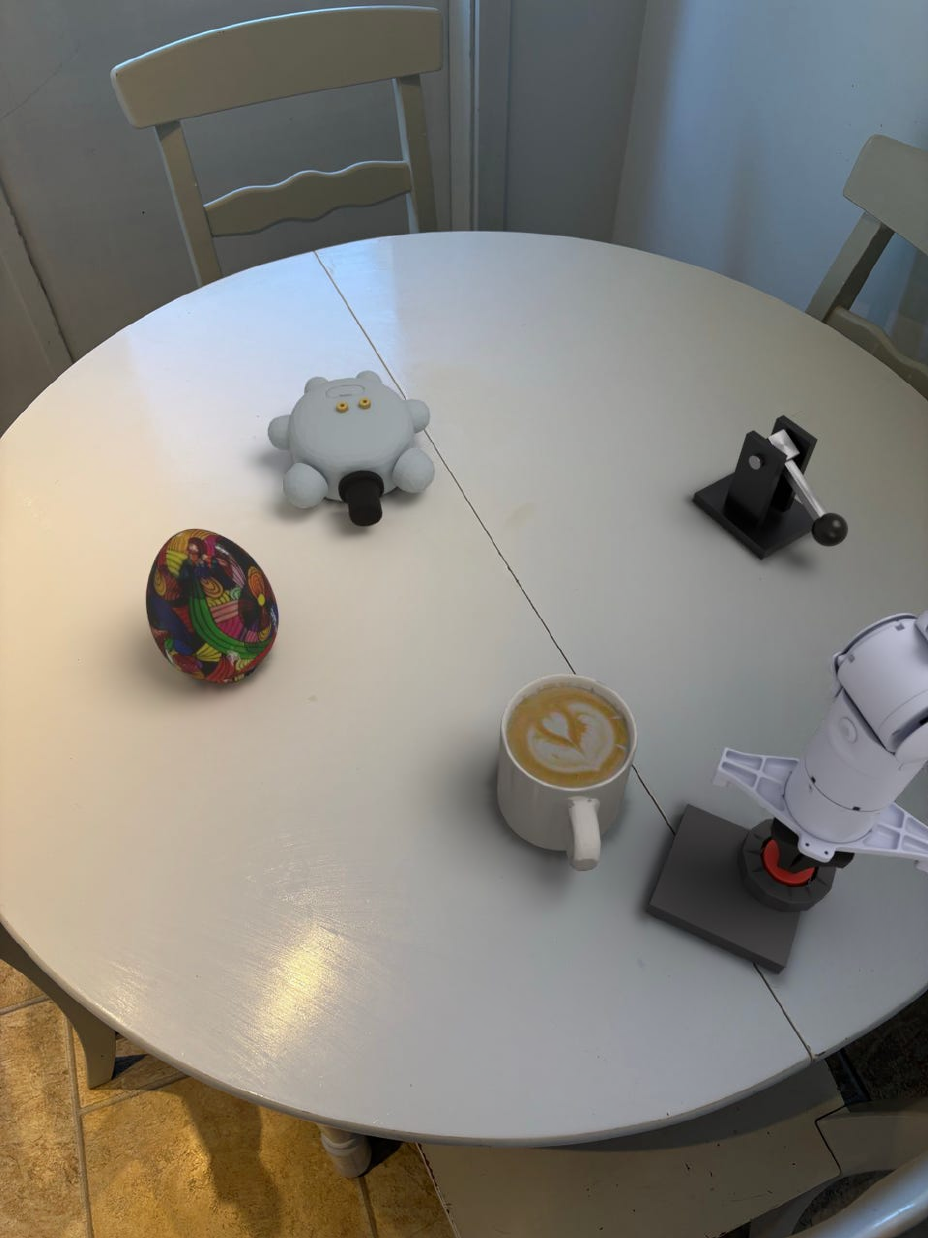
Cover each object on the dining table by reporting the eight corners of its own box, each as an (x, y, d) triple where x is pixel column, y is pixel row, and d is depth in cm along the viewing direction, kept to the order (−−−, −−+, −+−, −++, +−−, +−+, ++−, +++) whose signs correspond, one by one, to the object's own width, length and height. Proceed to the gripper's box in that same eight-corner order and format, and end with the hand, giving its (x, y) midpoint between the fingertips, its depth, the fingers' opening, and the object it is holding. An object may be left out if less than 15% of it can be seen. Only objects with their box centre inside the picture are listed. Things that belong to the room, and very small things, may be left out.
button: (812, 858, 67) (820, 848, 65) (801, 900, 65) (808, 891, 63) (765, 838, 68) (771, 828, 66) (752, 878, 66) (758, 869, 64)
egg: (220, 724, 76) (175, 616, 64) (144, 659, 81) (89, 546, 69) (311, 648, 81) (285, 535, 69) (235, 590, 86) (198, 474, 74)
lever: (840, 543, 86) (861, 530, 83) (817, 556, 85) (838, 544, 82) (771, 440, 87) (790, 424, 84) (747, 452, 86) (766, 437, 83)
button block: (828, 859, 69) (843, 840, 66) (796, 983, 63) (811, 967, 60) (688, 800, 72) (697, 779, 69) (645, 912, 66) (653, 894, 63)
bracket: (818, 527, 90) (852, 449, 82) (762, 560, 88) (791, 483, 80) (747, 471, 96) (773, 393, 88) (692, 501, 93) (713, 423, 85)
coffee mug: (499, 736, 75) (503, 669, 68) (617, 743, 75) (634, 676, 67) (492, 890, 67) (495, 833, 59) (624, 898, 67) (645, 842, 59)
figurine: (269, 418, 101) (285, 558, 90) (255, 359, 94) (271, 505, 83) (420, 398, 103) (452, 533, 92) (418, 340, 96) (453, 479, 85)
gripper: (718, 773, 54) (676, 863, 65) (968, 877, 50) (880, 954, 61) (749, 687, 58) (705, 785, 69) (984, 776, 54) (898, 866, 65)
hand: (789, 859), depth 65 cm, fingers closed, pressing on button
